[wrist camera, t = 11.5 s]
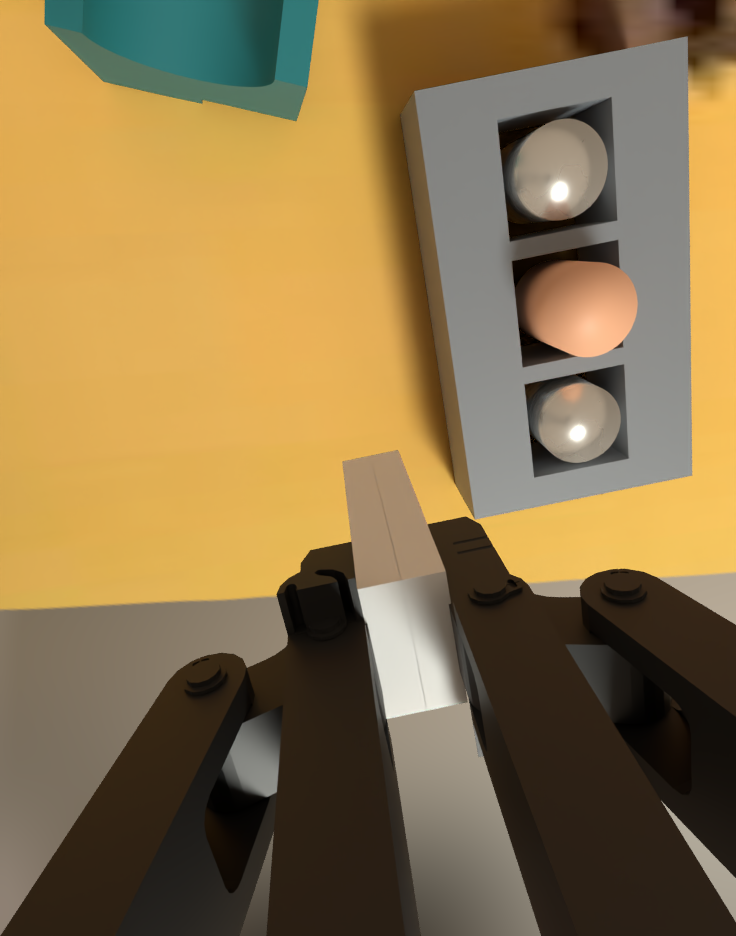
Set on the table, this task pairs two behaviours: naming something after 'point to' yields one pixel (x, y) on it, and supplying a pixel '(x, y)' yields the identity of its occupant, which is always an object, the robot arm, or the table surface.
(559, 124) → the steel plug
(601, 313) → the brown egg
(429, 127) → the grey rectangular block
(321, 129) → the table surface
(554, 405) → the steel plug
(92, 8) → the teal l-shaped bracket
